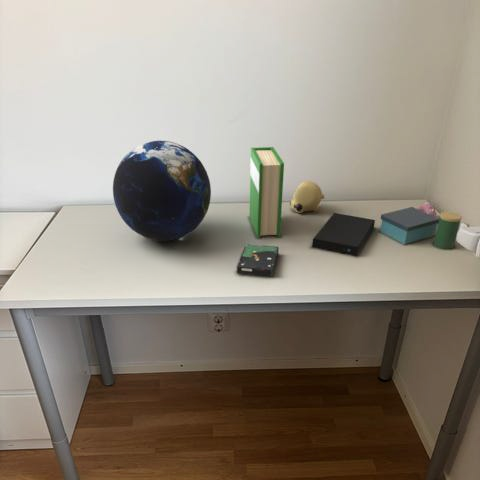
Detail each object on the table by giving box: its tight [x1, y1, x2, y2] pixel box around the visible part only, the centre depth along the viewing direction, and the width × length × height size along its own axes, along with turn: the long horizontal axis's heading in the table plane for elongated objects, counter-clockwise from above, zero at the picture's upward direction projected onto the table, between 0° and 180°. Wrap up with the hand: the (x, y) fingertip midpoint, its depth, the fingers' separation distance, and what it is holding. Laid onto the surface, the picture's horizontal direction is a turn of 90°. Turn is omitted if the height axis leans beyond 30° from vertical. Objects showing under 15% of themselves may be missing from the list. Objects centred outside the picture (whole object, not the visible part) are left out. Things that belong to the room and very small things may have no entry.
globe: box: [112, 140, 212, 242], centre depth 158 cm, size 30×30×30 cm
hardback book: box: [249, 146, 285, 239], centre depth 167 cm, size 18×7×24 cm, turn 7°
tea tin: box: [433, 211, 463, 250], centre depth 160 cm, size 6×6×10 cm
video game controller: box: [415, 202, 437, 217], centre depth 177 cm, size 10×5×7 cm, turn 179°
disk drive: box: [236, 244, 280, 277], centre depth 150 cm, size 10×3×15 cm
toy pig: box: [289, 180, 326, 214], centre depth 183 cm, size 10×12×11 cm
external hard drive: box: [311, 212, 376, 257], centre depth 166 cm, size 14×23×3 cm, turn 155°
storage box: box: [379, 206, 440, 245], centre depth 168 cm, size 14×12×6 cm
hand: (477, 223), depth 146 cm, fingers open, 8 cm apart
